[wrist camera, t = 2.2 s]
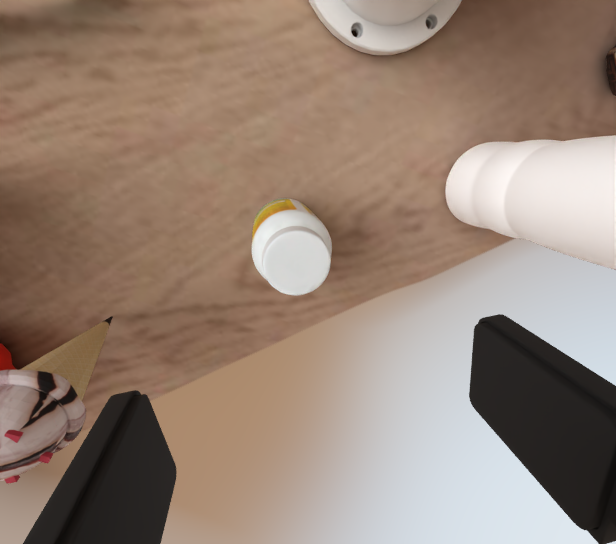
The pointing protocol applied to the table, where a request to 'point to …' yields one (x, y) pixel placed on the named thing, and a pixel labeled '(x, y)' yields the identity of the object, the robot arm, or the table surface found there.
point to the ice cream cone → (46, 403)
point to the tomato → (5, 359)
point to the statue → (612, 69)
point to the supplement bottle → (291, 247)
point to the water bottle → (542, 193)
